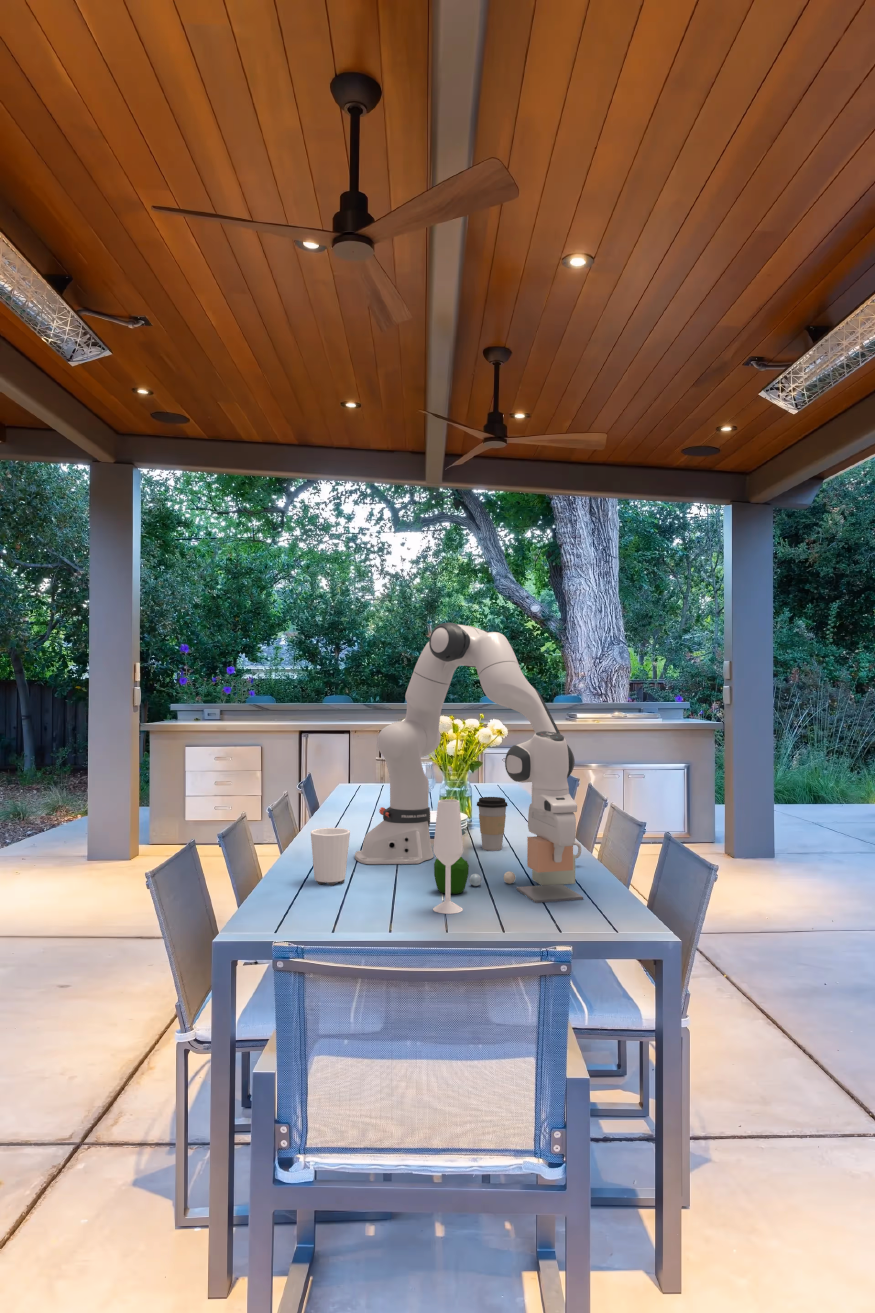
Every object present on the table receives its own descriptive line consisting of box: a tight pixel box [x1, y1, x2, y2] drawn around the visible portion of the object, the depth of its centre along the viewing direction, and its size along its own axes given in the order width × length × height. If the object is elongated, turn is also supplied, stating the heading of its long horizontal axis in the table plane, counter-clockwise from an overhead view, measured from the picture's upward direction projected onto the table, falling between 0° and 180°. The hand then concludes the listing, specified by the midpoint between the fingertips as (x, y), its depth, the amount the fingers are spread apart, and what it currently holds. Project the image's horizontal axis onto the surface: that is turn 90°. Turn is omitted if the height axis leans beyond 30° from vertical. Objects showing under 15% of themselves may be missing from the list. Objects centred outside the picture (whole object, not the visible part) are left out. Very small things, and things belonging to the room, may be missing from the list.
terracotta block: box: [526, 835, 574, 873], centre depth 194 cm, size 9×6×7 cm
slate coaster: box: [516, 884, 584, 904], centre depth 194 cm, size 12×12×1 cm
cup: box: [310, 827, 351, 887], centre depth 204 cm, size 10×10×13 cm
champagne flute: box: [432, 799, 464, 915], centre depth 181 cm, size 7×7×24 cm
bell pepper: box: [433, 856, 470, 894], centre depth 196 cm, size 8×8×10 cm
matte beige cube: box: [531, 853, 576, 886], centre depth 206 cm, size 9×6×7 cm
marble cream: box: [503, 871, 517, 885], centre depth 204 cm, size 3×3×3 cm
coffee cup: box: [476, 796, 509, 852], centre depth 245 cm, size 9×9×15 cm
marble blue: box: [469, 873, 482, 887], centre depth 201 cm, size 3×3×3 cm
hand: (550, 858), depth 194 cm, fingers closed on terracotta block, 6 cm apart
